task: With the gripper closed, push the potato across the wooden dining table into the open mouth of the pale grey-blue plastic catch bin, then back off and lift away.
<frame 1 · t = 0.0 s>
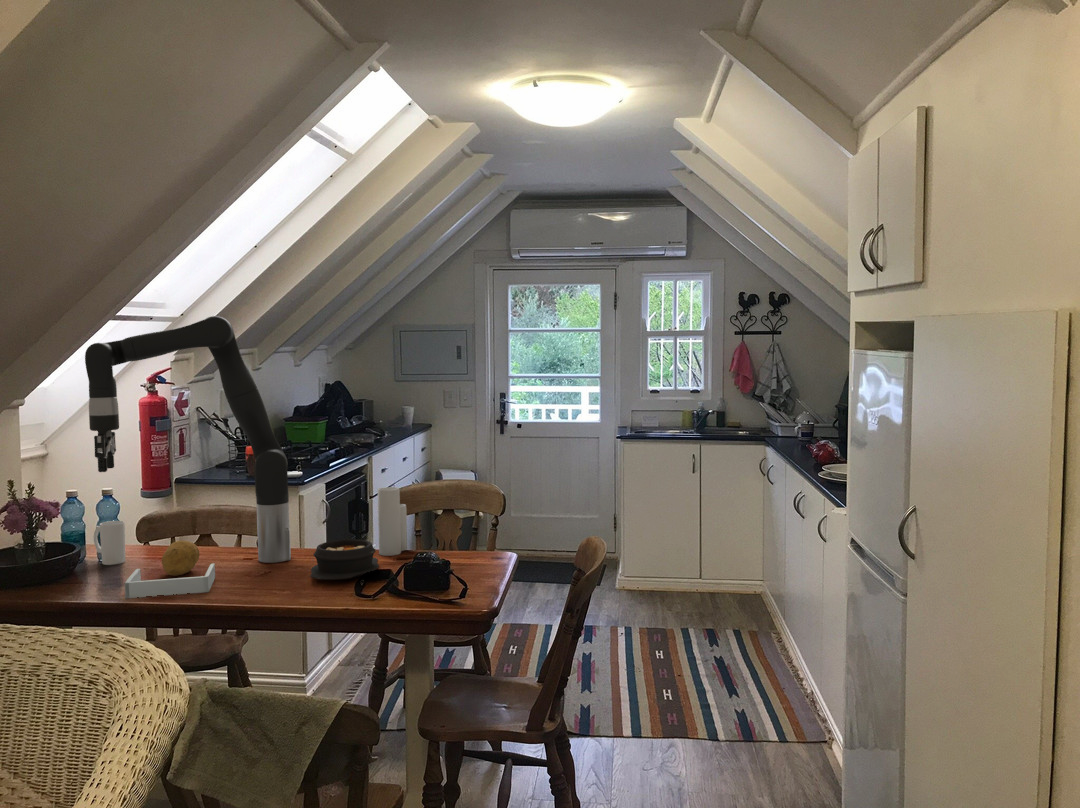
hand: (106, 470, 247), 29 cm above the table, fingers open, 8 cm apart
vase: (392, 552, 268), on the table
catch bin: (172, 587, 230), on the table
potato: (180, 574, 245), on the table
casserole: (345, 575, 241), on the table
mug: (109, 563, 259), on the table
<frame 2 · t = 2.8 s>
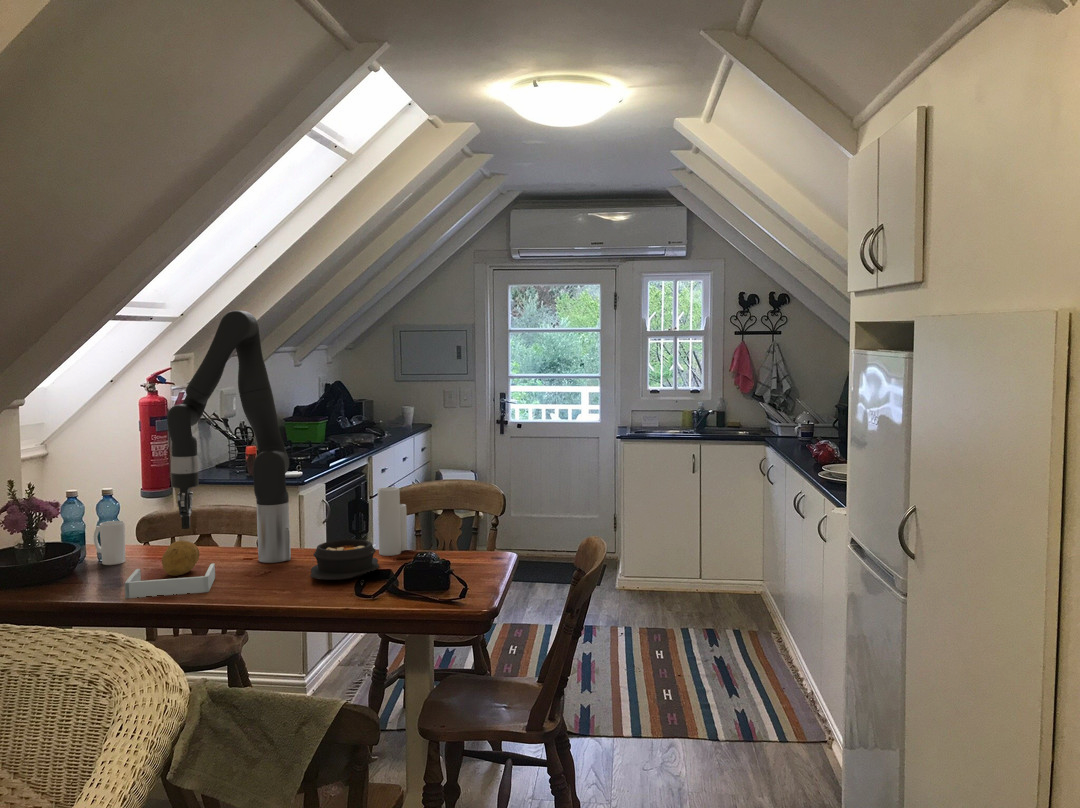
hand: (185, 528, 259), 10 cm above the table, fingers closed
nothing on the table moved.
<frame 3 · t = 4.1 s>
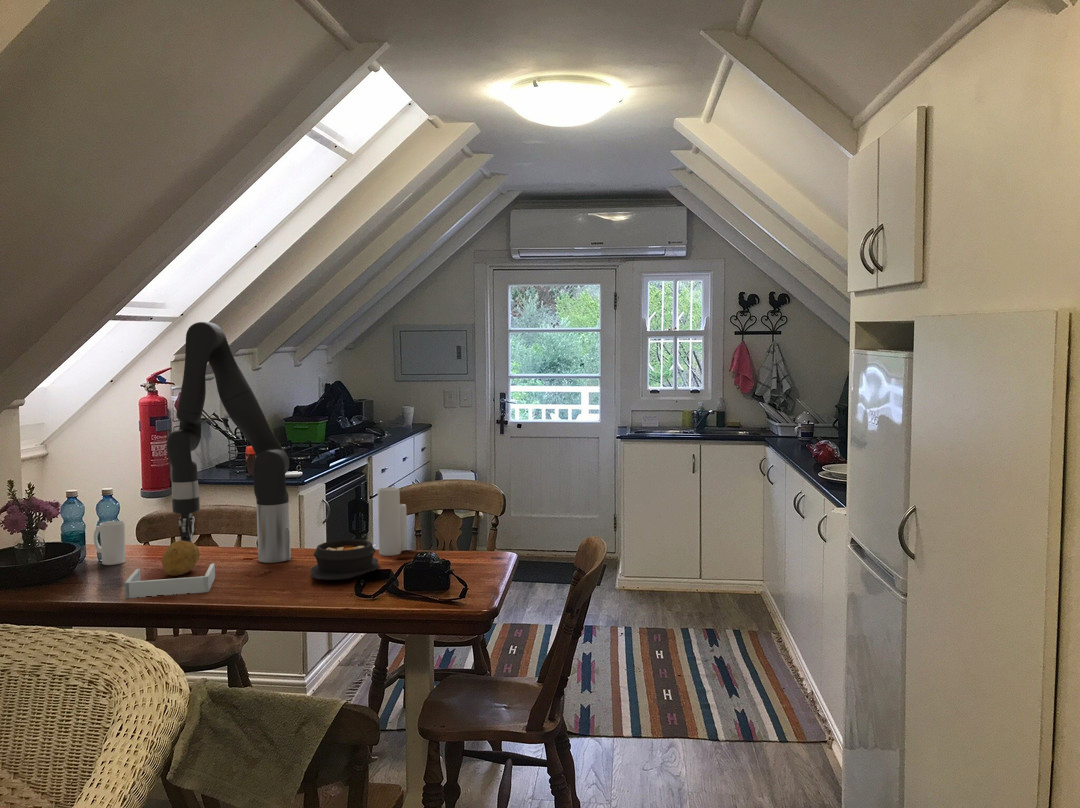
hand: (187, 553, 259), 2 cm above the table, fingers closed
nothing on the table moved.
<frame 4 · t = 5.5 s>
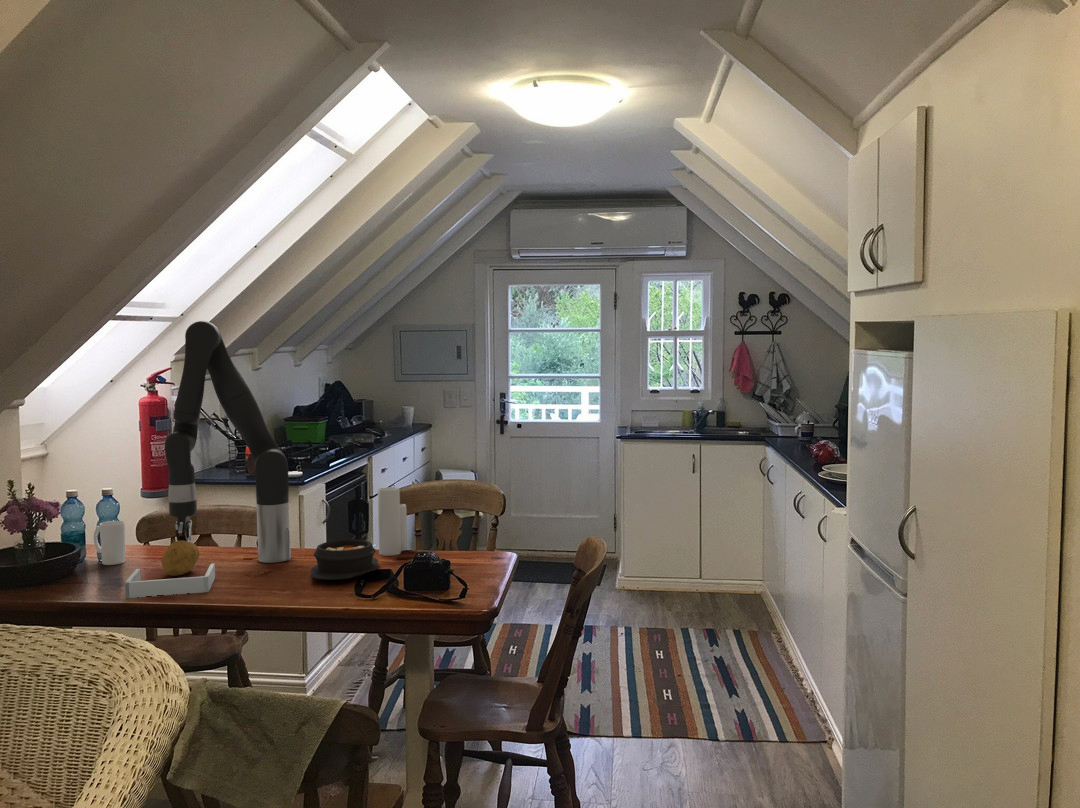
hand: (184, 557, 253), 3 cm above the table, fingers closed
potato: (180, 574, 244), on the table, touching gripper
everything else where it was.
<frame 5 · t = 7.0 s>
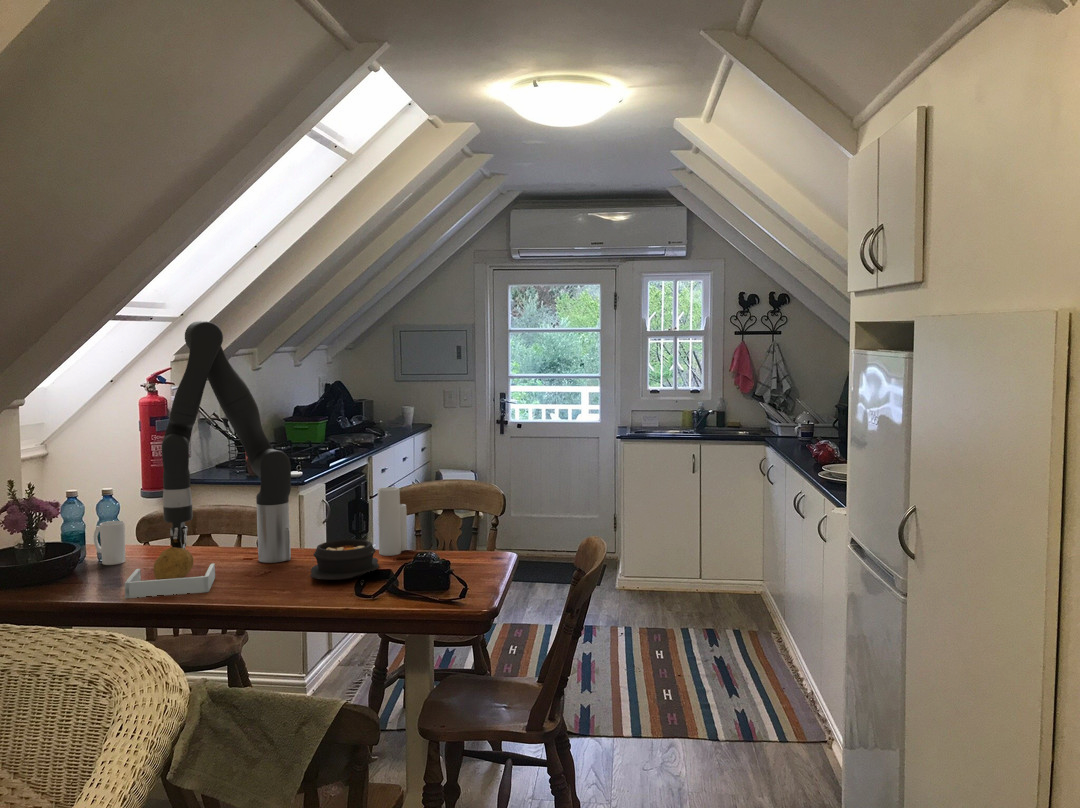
hand: (180, 564, 245), 3 cm above the table, fingers closed
potato: (173, 582, 236), on the table, touching gripper
everything else where it was.
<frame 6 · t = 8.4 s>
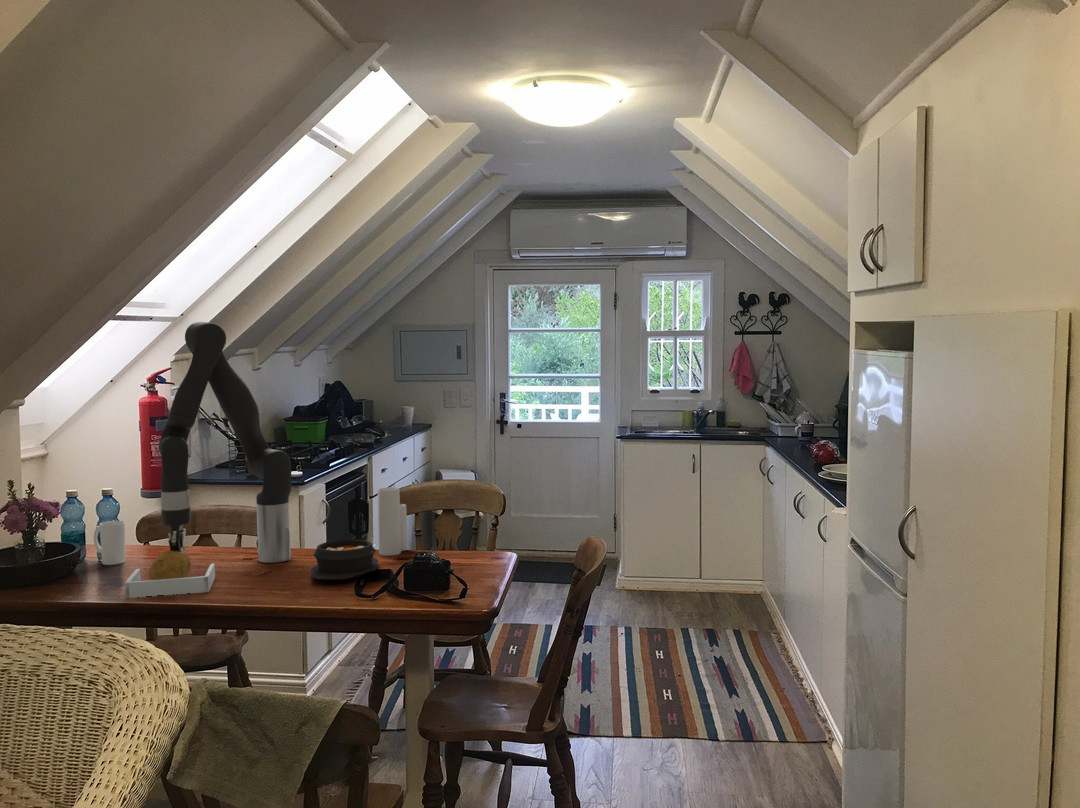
hand: (178, 568, 241), 2 cm above the table, fingers closed
potato: (169, 586, 232), on the table, touching gripper
everything else where it was.
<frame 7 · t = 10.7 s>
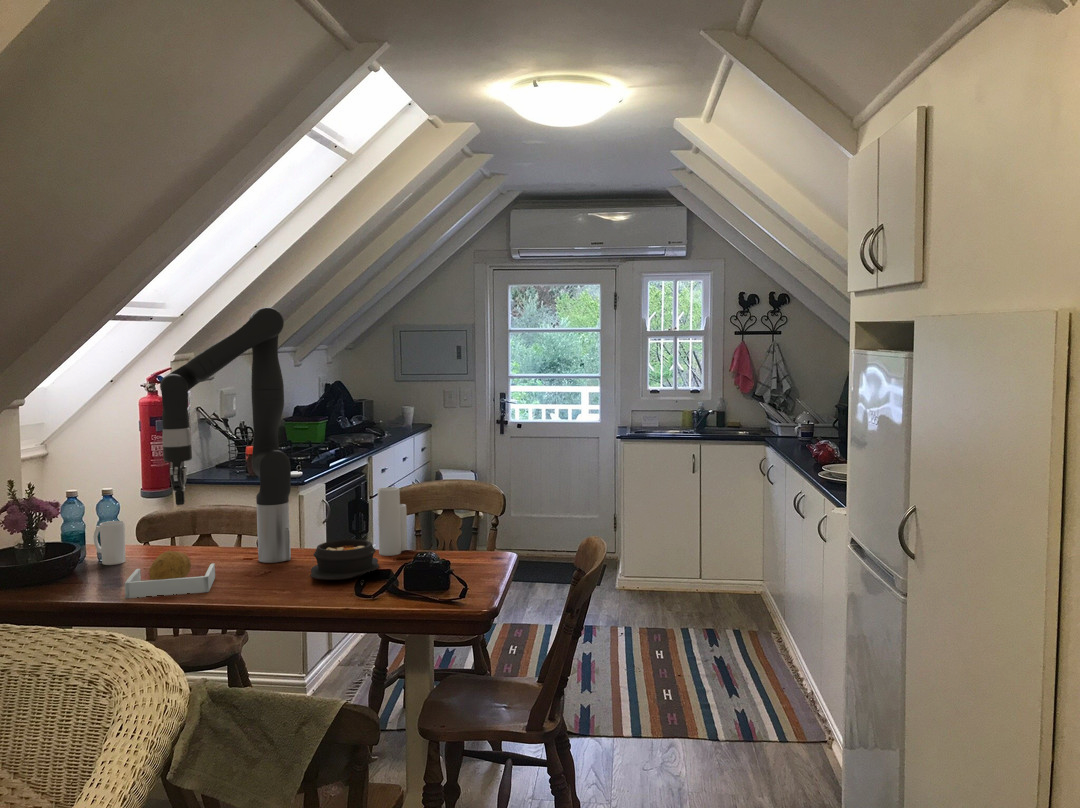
hand: (180, 504, 247), 19 cm above the table, fingers closed
potato: (169, 586, 232), on the table
everything else where it was.
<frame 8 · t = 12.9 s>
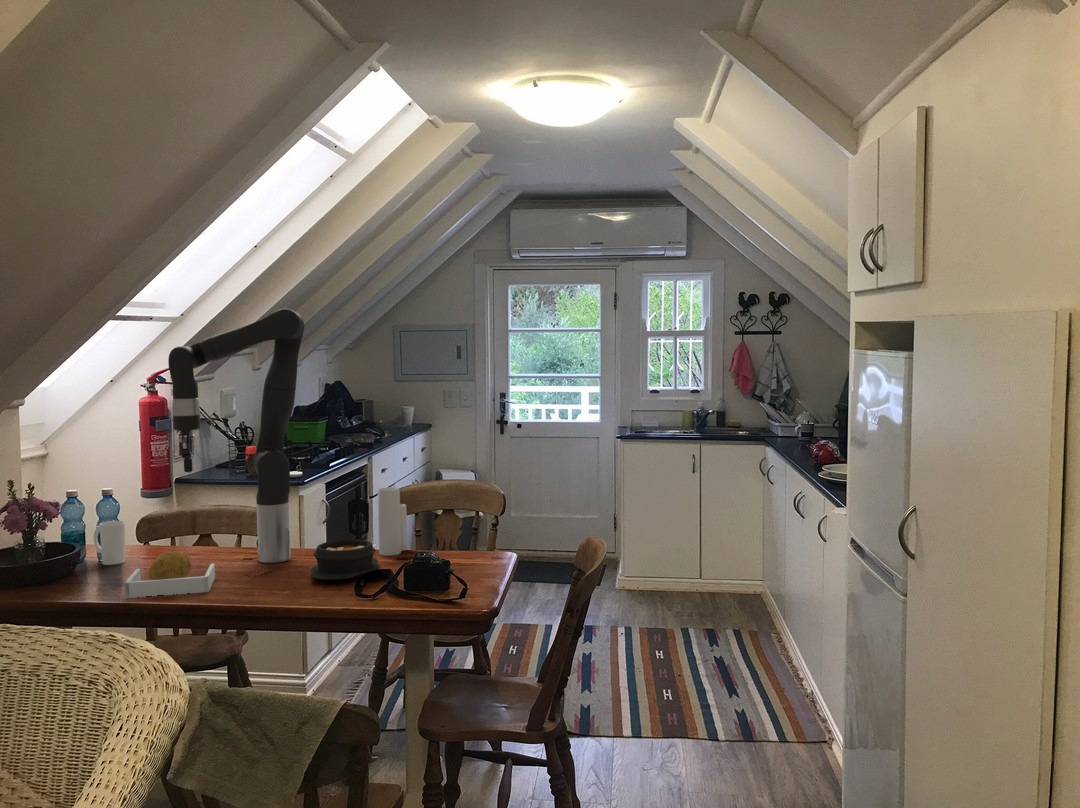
hand: (188, 471, 258), 27 cm above the table, fingers closed
nothing on the table moved.
at the end: potato inside the target area on the catch bin (3.4 cm from its centre), point 0.0 cm above the catch bin's base; potato moved 13.3 cm from its start; the gripper is holding nothing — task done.
